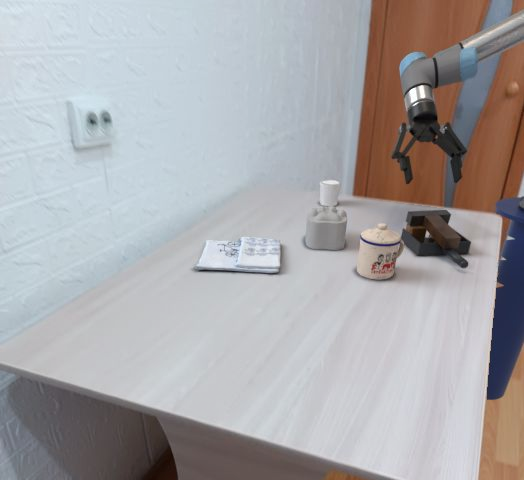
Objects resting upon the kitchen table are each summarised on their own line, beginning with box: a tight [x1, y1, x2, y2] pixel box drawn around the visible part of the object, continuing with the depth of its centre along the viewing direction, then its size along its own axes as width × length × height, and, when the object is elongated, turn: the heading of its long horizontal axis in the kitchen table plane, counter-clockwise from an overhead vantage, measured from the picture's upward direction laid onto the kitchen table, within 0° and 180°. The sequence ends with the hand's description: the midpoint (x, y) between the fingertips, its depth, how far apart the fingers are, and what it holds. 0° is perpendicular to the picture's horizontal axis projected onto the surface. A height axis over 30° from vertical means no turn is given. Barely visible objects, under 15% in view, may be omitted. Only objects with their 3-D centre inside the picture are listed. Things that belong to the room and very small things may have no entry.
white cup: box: [319, 179, 342, 207], centre depth 156 cm, size 7×7×7 cm
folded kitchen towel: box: [193, 235, 281, 274], centre depth 119 cm, size 19×20×2 cm
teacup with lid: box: [356, 222, 405, 281], centre depth 110 cm, size 12×9×12 cm
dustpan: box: [400, 227, 472, 269], centre depth 122 cm, size 22×14×3 cm, turn 8°
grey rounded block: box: [304, 205, 348, 251], centre depth 128 cm, size 10×13×9 cm
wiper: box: [405, 209, 461, 249], centre depth 124 cm, size 11×3×16 cm
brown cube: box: [405, 223, 428, 243], centre depth 130 cm, size 4×4×4 cm
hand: (434, 180), depth 125 cm, fingers open, 13 cm apart
